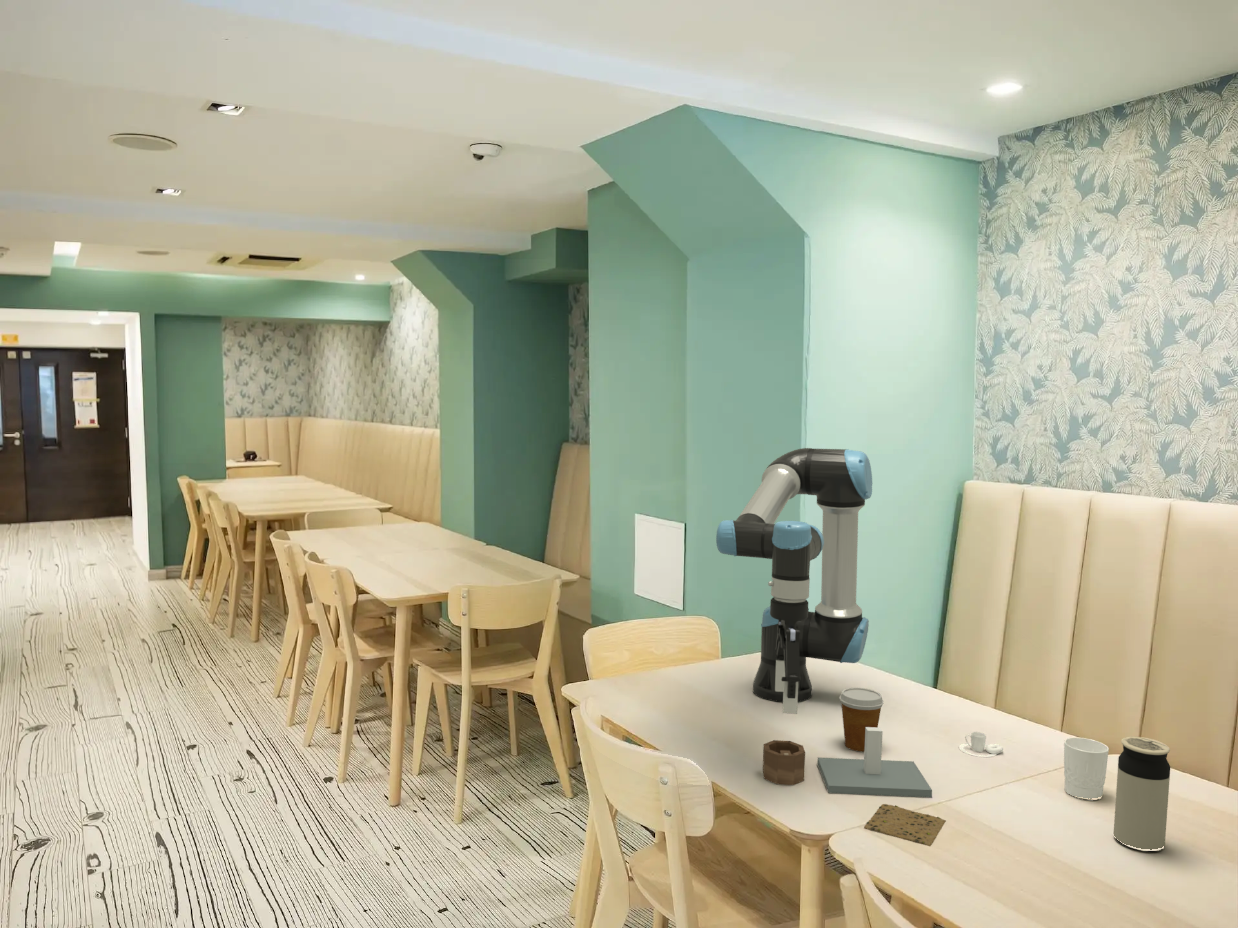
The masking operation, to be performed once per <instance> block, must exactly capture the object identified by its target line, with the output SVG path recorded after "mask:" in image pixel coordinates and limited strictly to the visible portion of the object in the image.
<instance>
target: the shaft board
mask: <svg viewBox="0 0 1238 928" xmlns="http://www.w3.org/2000/svg"><path fill="white" fill-rule="evenodd" d="M883 732H884V731H883V729H882V728H881V727H878V728H876V727H865V750H864V752H863V753H864V754H863V758H861V759H860V758H843V757H842V758H839V757H819V756H818V757H817V761H816V762H817V763H816V764H817V767H818V770H819V772H820V776H821V778H822V780H823V782H824V785H825V788H826V790H827V793H828V794H839V795H840V794H841V795H843V794H844V795H867V796H868V795H869V796H887V797H889V796H890V797H891V796H892V797H911V798H913V797H915V798H933V789H932V787H931V786H930V784H929V782H928V781H927V780H926V778H925V777H924V775H923V773H922V772H921V771H920V769H919V767H918V766H917V765H916V763H915V761H914V760H913V761H912V760H910V761H909V760H908V761H907V760H891V759H890V760H889V759H888V760H886V759H882V751H883V750H882V749H883Z"/></svg>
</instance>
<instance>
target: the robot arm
mask: <svg viewBox="0 0 1238 928" xmlns="http://www.w3.org/2000/svg"><path fill="white" fill-rule="evenodd" d="M872 473H873V472H872V466H871V462H870V460H869V457H868V455H867V454H866V453H865V452H863V451H861V450H853V449H849V448H848V449H847V448H845V449H843V448H842V449H841V448H811V447H803V448H797V449H794V450H792V451H789V452H786V453H784V454H782V455H781V456H779V457H777V458H776V459H774V460H773V461H772V462H771V463H770V464H768V465H767V467H766V468H765V470H764V472H763V473H762V476H761V484H760V485H759V486H758V487H757V489H756V490H755V492H754V493H753V495H752V497H751V498H750V499H749V501H748V502H747V503H746V505H745V507H744V508H743V509H742V511H741V513H740V514H739V516H738V517H737V518H736V520H733V519H729V520H728V519H727V520H726V519H724V520H721V522H719V523H718V526H717V530H716V534H715V535H716V537H715V538H716V539H715V540H716V548H717V550H718V552H719V553H721V554H724V555H728V556H733V557H748V558H758V559H768V560H771V581H768V582H767V583H768V584H767V585H768V586H769V587H770V594H771V595H770V596H771V597H772V598H771V599H770V603H769V604H770V605H769V606H767V607H766V608H764V610H763V611H762V617H761V618H762V619H761V623H760V627H761V639H760V640H761V641H760V643H761V644H760V663H759V666H758V668H757V671H756V674H755V677H754V680H753V682H752V692H753V693H754V694H755V696H756V697H759V698H762V699H764V700H769V701H773V702H780V703H782V714H792V715H797V714H798V702H803V701H806V700H809V699H811V698H812V695H813V693H812V692H813V686H812V682H811V679H810V675H809V672H808V671H809V670H808V669H807V658H808V659H809V658H811V659H816V660H823V661H830V662H837V663H840V664H842V663H848V664H857V663H858V662H860V660H861V659H862V657H863V654H864V650H865V646H866V644H867V643H866V642H867V638H868V633H869V627H870V625H869V622H870V621H869V618H866V617H865V616H864V617H863V609H862V608H861V606H859V604H857V585H858V584H857V582H858V581H857V578H858V576H857V575H858V545H859V544H858V540H859V539H858V536H859V535H858V533H859V531H858V530H859V511H860V510H862V508H864V507H865V505H866V500H869V499H870V498H871V497H872V494H873V474H872ZM796 495H807V496H816V505H817V506H819V508H820V509H821V510H822V531H821V530H820V529H819V528H818V527H816V525H812V524H809V523H808V522H805V521H798V520H781V521H777V519H778V518H779V516H780V515H781V513H782V511H783V510H784V508H785V506H786V505H787V503H788V501H789V500H792V499H793V498H794V497H796ZM776 521H777V522H776ZM820 554H821V591H820V592H821V594H820V595H821V599H820V600H821V601H820V602H819V603H818V604H817V605H816V606H815V607H814V611H809V609H810V608H809V601H808V600H807V599H808V598H809V597H810V580H811V579H810V569H811V568H810V567H811V561H812V560H815V559H816V558H818V556H819V555H820Z"/></svg>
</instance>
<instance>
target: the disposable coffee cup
mask: <svg viewBox="0 0 1238 928" xmlns="http://www.w3.org/2000/svg"><path fill="white" fill-rule="evenodd" d="M839 701H840V703H841V712H842V724H843V725H842V727H843V735H844V736H843V737H844V746H845V747H846V748H847V749H849V750H852V751H855V752H861V753H864V750H865V727H876V728H879V721H880V716H881V712H882V711H881V710H882V707H883V705H884V703H885V702H884V699H883V696H882V693H880V692H878V691H876V690H873V689H870V688H864V687H849V688H845V689H842V692H841V695H839Z"/></svg>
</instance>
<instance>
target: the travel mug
mask: <svg viewBox="0 0 1238 928" xmlns="http://www.w3.org/2000/svg"><path fill="white" fill-rule="evenodd" d="M1120 742H1121V745H1122V748H1123V749H1122V751H1121V753H1120V754H1119V756H1118V758H1117V761H1118V762H1117V776H1116V789H1115V790H1116V791H1115V807H1114V809H1115V810H1114V822H1113V823H1114V824H1113V834H1114V836H1115V837H1116V839H1118V840H1119V841H1121V842H1122V843H1124V844H1126V845H1130V846H1133V847H1136V848H1141V849H1150V850H1152V849H1158V848H1162V847H1163V846H1164V845H1165V846H1166V834H1167V833H1166V832H1167V820H1168V807H1169V805H1168V804H1169V794H1170V793H1169V792H1170V791H1169V790H1170V780H1171V779H1170V778H1171V765H1170V764H1169V761H1168V759H1167V757H1168V754H1169V753H1170V751H1171V748H1170V746H1168V745H1167V744H1165V743H1164V742H1161V741H1159V740H1157V739H1153V738H1149V737H1142V736H1126V737H1123V738H1122V739H1121V740H1120ZM1114 836H1113V837H1114ZM1116 839H1115V840H1116Z"/></svg>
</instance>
